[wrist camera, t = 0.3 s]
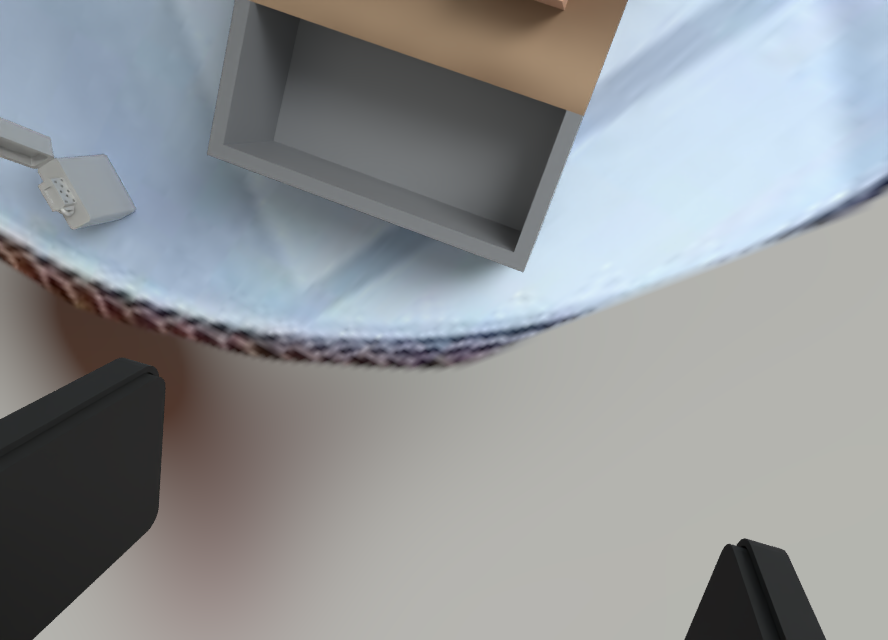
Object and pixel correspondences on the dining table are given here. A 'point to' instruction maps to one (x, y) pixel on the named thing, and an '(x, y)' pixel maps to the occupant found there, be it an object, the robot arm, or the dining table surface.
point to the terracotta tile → (555, 3)
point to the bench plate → (485, 38)
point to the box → (389, 134)
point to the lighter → (68, 178)
